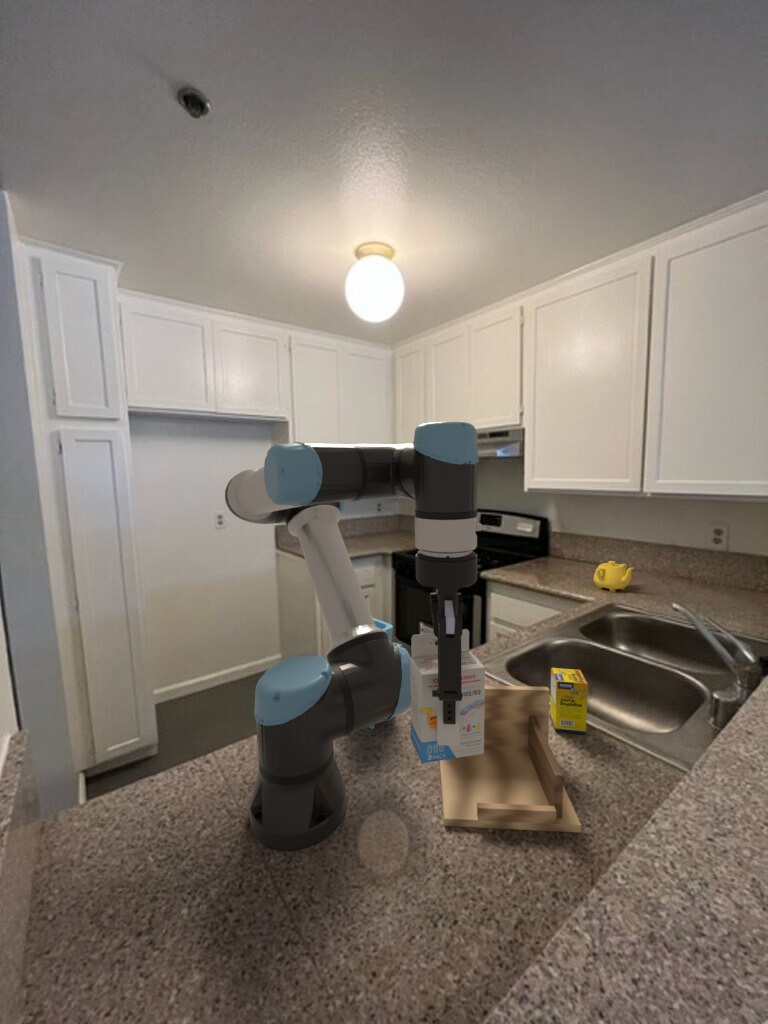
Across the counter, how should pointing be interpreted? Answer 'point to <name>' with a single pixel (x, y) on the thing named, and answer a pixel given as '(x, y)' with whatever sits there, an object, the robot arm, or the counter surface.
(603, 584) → the teapot
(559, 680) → the supplement box
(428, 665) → the ink box
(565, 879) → the counter surface
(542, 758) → the shelf
